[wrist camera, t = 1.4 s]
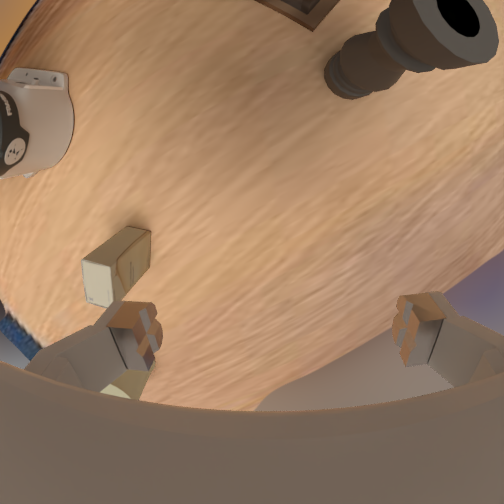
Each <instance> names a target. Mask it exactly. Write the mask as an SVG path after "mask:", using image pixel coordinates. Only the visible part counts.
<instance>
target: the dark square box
mask: <svg viewBox="0 0 504 504" xmlns="http://www.w3.org/2000/svg"><path fill="white" fill-rule="evenodd" d="M255 1H257V2H259V3H261V4H263V5H265V6H267V7H269V8H271V9H273V10H275V11H277V12H279V13H281V14H283V15H284V16H286V17H288V18H290V19H292V20H293V21H295V22H297V23H299V24H300V25H302V26H304V27H305V28H307V29H309V30H310V31H312V32H313V31H314V29H315V28H316V27H317V26H318V25H319V23H320V22H321V21H322V20H323V19H324V18H325V16H326V15H327V14H328V13H329V12H330V11H331V10H332V8H333V7H334V6H335V5H336V4H337V3H338V2H339V1H340V0H255Z"/></svg>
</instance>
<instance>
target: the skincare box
mask: <svg viewBox="0 0 504 504" xmlns="http://www.w3.org/2000/svg"><path fill="white" fill-rule="evenodd" d="M150 242H151V232H150V231H147V230H142V229H137V228H132V227H126V228H124V229H123V230H121V231H120V232H118V233H117V234H116V235H114V236H113V237H111V238H110V239H109V240H107V241H106V242H105V243H103V244H102V245H100V246H99V247H98V248H96V249H95V250H94V251H92V252H91V253H90V254H88V255H87V256H86V257H84V258H83V259H82V260H81V264H82V275H83V284H84V290H85V297H86V302H87V303H91V304H94V305H97V306H100V307H103V308H108V307H109V306H110V304H111V303H112V302H113V301H121V300H122V299H123V298H124V296H125V295H126V294H127V293H128V292H129V291H130V289H131V288H132V287H133V286H134V285H135V284H136V282H137V281H138V280H139V279H140V278H141V277H142V276H143V274H144V273H145V272H146V271H147V270H148V269H149V267H150Z"/></svg>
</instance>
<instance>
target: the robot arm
mask: <svg viewBox="0 0 504 504" xmlns="http://www.w3.org/2000/svg"><path fill="white" fill-rule="evenodd" d="M56 78H57V79H56ZM73 124H74V115H73V107H72V103H71V100H70V97H69V94H68V76H67V74H66V73H62V72H56V71H48V70H40V69H32V68H21V67H20V68H15V69H14V70H13V71H12V72H11V73H10V75H9V76H8V78H7V79H1V80H0V179H6V178H10V177H15V176H19V175H23V176H24V177H25V178H30V177H32V176H34V175H35V174H36V173H37V172H38V171H40V170H44V169H48V168H51V167H53V166H54V165H55V164H57V163H58V162H59V161H60V160H61V158H62V157H63V156H64V154H65V152H66V150H67V148H68V146H69V143H70V140H71V137H72V132H73ZM396 307H397V309H398V311H399V312H398V314H397V315H396V316H395V317H394V319H393V324H392V335H393V339H394V341H395V344H396V345H398V346H399V347H401V351H400V355H401V358H402V360H403V362H404V364H405V367H409V366H416V365H423V364H428V366H430V367H431V368H432V369H433V370H434V371H436V372H437V373H438V374H439V375H441V376H442V377H443V378H444V379H445V380H447V381H448V382H449V383H450V384H451V385H453V386H454V388H450V389H447V390H443V391H439V392H435V393H431V394H427V395H422V396H417V397H412V398H407V399H402V400H396V401H391V402H385V403H378V404H371V405H363V406H355V407H346V408H335V409H322V410H305V411H231V410H214V409H201V408H191V407H181V406H173V405H166V404H158V403H152V402H146V401H140V400H134V399H129V398H123V397H118V396H114V395H109V394H104V393H100V392H101V391H102V390H103V389H104V388H106V387H107V386H108V385H109V384H111V383H112V382H113V381H114V380H116V379H117V378H118V377H119V376H121V375H122V374H123V373H124V372H126V371H127V369H129V370H139V371H149V370H150V368H151V366H152V363H153V361H154V359H155V357H154V354H153V353H155V352H156V351H158V350H159V349H160V347H161V344H162V339H163V332H162V327H161V324H160V323H159V322H158V321H157V320H156V319H155V317H156V315H157V310H156V307H155V305H154V304H153V303H152V302H134V301H113V302H112V303H111V304H110V306H109V307H108V308H107V309H106V310H105V312H104V313H103V314H102V315H101V317H100V318H99V319H98V320H97V321H96V323H95V324H94V325H93V326H91V325H89V326H87V327H85V328H83V329H81V330H79V331H77V332H75V333H74V334H72V335H70V336H68V337H66V338H64V339H62V340H60V341H58V342H56V343H54V344H52V345H50V346H48V347H46V348H44V349H42V350H40V351H39V352H38V353H37V354H36V355H35V356H34V358H33V359H32V360H31V361H30V363H29V364H28V365H27V366H26V367H25V369H24V370H23V369H20V368H18V367H15V366H12V365H10V364H7V363H5V362H2V361H0V504H504V336H503V335H501V334H499V333H497V332H495V331H493V330H491V329H489V328H487V327H485V326H483V325H481V324H479V323H477V322H475V321H473V320H471V319H469V318H467V317H464V316H459V315H458V313H457V312H456V311H455V309H454V308H453V307H452V306H451V304H450V303H449V302H448V301H447V299H446V298H445V297H444V296H443V294H442V293H441V292H439V291H433V292H426V293H419V294H411V295H402V296H399V298H398V300H397V305H396Z"/></svg>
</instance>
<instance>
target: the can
mask: <svg viewBox="0 0 504 504" xmlns="http://www.w3.org/2000/svg"><path fill="white" fill-rule="evenodd" d="M154 367H155V360H154V361H153V363H152V366H151V368H150V370H149V371H139V370H129V369H127V371H126V372H124V373H123V374H122V375H121V376H119V377H118V378H117V379H116V380H114V381H113V382H112V383H111V384H109V385H108V386H107V387H106V388H104V389H103V390H102V391H101V392H100V393H104V394H109V395H114V396H118V397H123V398H129V399H134V400H139V398H140V396H141V394H142V391H143V389H144V387H145V384H146V382H147V380H148V378H149V376H150V373H151V372H152V370H153V369H154Z"/></svg>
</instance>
